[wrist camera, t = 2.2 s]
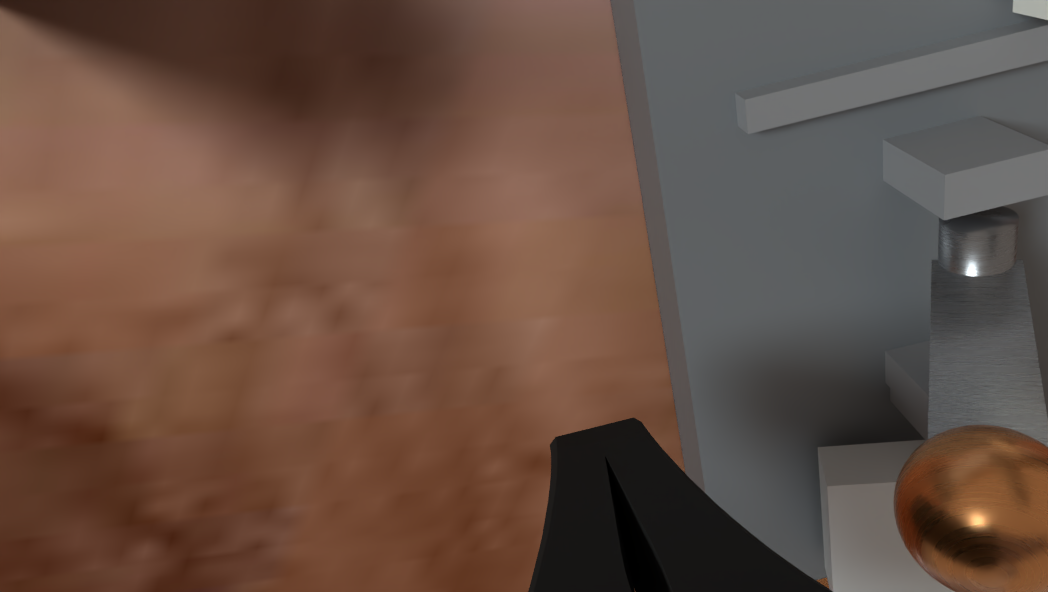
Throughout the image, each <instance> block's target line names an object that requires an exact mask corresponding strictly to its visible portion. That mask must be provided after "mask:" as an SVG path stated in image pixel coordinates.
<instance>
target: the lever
mask: <svg viewBox="0 0 1048 592" xmlns="http://www.w3.org/2000/svg"><path fill="white" fill-rule="evenodd" d="M1018 225H1019V216H1018V214H1017V213H1016V212H1015V211H1013V210H1012V209H1010V208H1007V207H1004V206H1001V207H997V208H993V209H989V210H985V211H980V212H976V213H972V214H968V215H964V216H960V217H956V218H952V219H948V220H943V219H941V218H939V235H938V260H932V269H931V316H930V363H929V410H928V440H927V441H925V442H924V443H923V444H921V445H920V446H919V447H918V448H917V449H916V450H915V451H914V452H913V453H912V454H911V455H910V457H909V458H908V459H907V461H906V462H905V463H904V465H903V467H902V469H901V471H900V473H899V476H898V478H897V482H896V485H895V491H894V500H893V503H894V516H895V520H896V525H897V528H898V531H899V534H900V536H901V538H902V540H903V542H904V545H905V547H906V548H907V550H908V551H909V553H910V554H911V555H912V557H913V558H914V560H915V561H916V562H917V563H918V564H919V565H920V567H921V568H922V569H923V570H925V571H926V572H927V573H928V574H929V575H930V576H931V577H932V578H934V579H935V580H936V581H938V582H939V583H941V584H942V585H944V586H946V587H947V588H949V589H951V590H953V591H955V592H1048V418H1047V412H1046V405H1045V399H1044V393H1043V386H1042V380H1041V373H1040V367H1039V361H1038V354H1037V348H1036V341H1035V335H1034V329H1033V322H1032V316H1031V310H1030V303H1029V297H1028V290H1027V284H1026V278H1025V271H1024V265H1023V259H1016V253H1017V239H1018Z"/></svg>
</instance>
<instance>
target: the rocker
mask: <svg viewBox="0 0 1048 592" xmlns="http://www.w3.org/2000/svg"><path fill="white" fill-rule="evenodd" d="M925 441H926V440H913V441H899V442H885V443H870V444H856V445H842V446H828V447H818V461H819V478H820V494H821V510H822V527H823V543H824V560H825V570H826V574H827V579H828V584H829V588H830V590H831V591H833V592H955V591H953V590H951V589H949V588H947V587H946V586H944V585H942V584H941V583H939V582H938V581H936V580H935V579H934V578H932V577H931V576H930V575H929V574H928V573H927V572H926V571H925V570H923V569H922V568H921V567H920V565H919V564H918V563H917V562H916V561H915V560H914V558H913V557H912V555H911V554H910V553H909V551H908V550H907V548H906V547H905V545H904V542H903V540H902V538H901V536H900V534H899V531H898V528H897V525H896V520H895V516H894V503H893V500H894V491H895V485H896V482H897V478H898V476H899V473H900V471H901V469H902V467H903V465H904V463H905V462H906V461H907V459H908V458H909V457H910V455H911V454H912V453H913V452H914V451H915V450H916V449H917V448H918V447H919V446H920V445H921V444H923V443H924V442H925Z"/></svg>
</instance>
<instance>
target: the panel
mask: <svg viewBox="0 0 1048 592" xmlns="http://www.w3.org/2000/svg"><path fill="white" fill-rule="evenodd" d="M611 6H612V13H613V19H614V25H615V32H616V38H617V44H618V50H619V57H620V63H621V69H622V76H623V82H624V88H625V94H626V101H627V107H628V113H629V120H630V126H631V132H632V138H633V145H634V151H635V157H636V164H637V170H638V176H639V182H640V189H641V195H642V201H643V208H644V214H645V220H646V226H647V233H648V239H649V245H650V252H651V258H652V264H653V270H654V277H655V283H656V289H657V296H658V302H659V308H660V314H661V321H662V327H663V333H664V340H665V346H666V352H667V358H668V365H669V371H670V377H671V384H672V390H673V396H674V402H675V409H676V415H677V421H678V428H679V434H680V440H681V446H682V453H683V459H684V465H685V472H686V475H687V476H688V477H689V478H690V479H691V480H692V481H693V482H694V483H695V484H696V485H697V486H698V487H699V488H701V489H702V490H703V491H704V492H705V493H706V494H707V495H708V496H709V497H710V498H711V499H712V500H713V501H714V502H715V503H716V504H717V505H719V506H720V507H721V508H722V509H723V510H724V511H725V512H726V513H728V514H729V515H730V516H731V517H732V518H733V519H735V520H736V521H737V522H738V523H739V524H741V525H742V526H743V527H744V528H745V529H747V530H748V531H749V532H750V533H751V534H753V535H754V536H755V537H756V538H758V539H759V540H760V541H761V542H763V543H764V544H765V545H766V546H768V547H769V548H770V549H772V550H773V551H774V552H776V553H777V554H778V555H780V556H781V557H783V558H784V559H785V560H787V561H788V562H790V563H791V564H792V565H794V566H795V567H797V568H798V569H799V570H801V571H802V572H804V573H805V574H807V575H808V576H810V577H811V578H813V579H814V580H818V579H822V578H826V577H827V574H826V570H825V560H824V543H823V527H822V510H821V494H820V478H819V461H818V447H828V446H842V445H856V444H870V443H885V442H899V441H913V440H926V441H927V440H928V410H929V363H930V316H931V269H932V260H938V235H939V218H941V219H943V220H948V219H952V218H956V217H960V216H964V215H968V214H972V213H976V212H980V211H985V210H989V209H993V208H997V207H1001V206H1004V207H1007V208H1010V209H1012V210H1013V211H1015V212H1016V213H1017V214H1018V216H1019V225H1018V239H1017V253H1016V259H1023V265H1024V271H1025V278H1026V284H1027V290H1028V297H1029V303H1030V310H1031V316H1032V322H1033V329H1034V335H1035V341H1036V348H1037V354H1038V361H1039V367H1040V373H1041V380H1042V386H1043V393H1044V399H1045V405H1046V412H1047V418H1048V20H1045V19H1040V18H1036V17H1032V16H1027V15H1023V14H1018V13H1014V12H1013V0H611Z"/></svg>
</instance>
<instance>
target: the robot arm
mask: <svg viewBox="0 0 1048 592" xmlns="http://www.w3.org/2000/svg"><path fill="white" fill-rule="evenodd" d="M550 449H551V481H550V490H549V500H548V506H547V512H546V517H545V523H544V529H543V535H542V540H541V544H540V549H539V553H538V557H537V561H536V564H535V568H534V572H533V576H532V580H531V584H530V588H529V591H528V592H635V591H636V592H833V591H831V590H830V589H828V588H827V587H825V586H824V585H822V584H820V583H819V582H817V581H816V580H814V579H813V578H811V577H810V576H808V575H807V574H805V573H804V572H802V571H801V570H799V569H798V568H797V567H795V566H794V565H792V564H791V563H790V562H788V561H787V560H785V559H784V558H783V557H781V556H780V555H778V554H777V553H776V552H774V551H773V550H772V549H770V548H769V547H768V546H766V545H765V544H764V543H763V542H761V541H760V540H759V539H758V538H756V537H755V536H754V535H753V534H751V533H750V532H749V531H748V530H747V529H745V528H744V527H743V526H742V525H741V524H739V523H738V522H737V521H736V520H735V519H733V518H732V517H731V516H730V515H729V514H728V513H726V512H725V511H724V510H723V509H722V508H721V507H720V506H719V505H717V504H716V503H715V502H714V501H713V500H712V499H711V498H710V497H709V496H708V495H707V494H706V493H705V492H704V491H703V490H702V489H701V488H699V487H698V486H697V485H696V484H695V483H694V482H693V481H692V480H691V479H690V478H689V477H688V476H687V475H686V474H685V473H684V472H683V471H682V470H681V469H680V468H679V467H678V466H677V464H676V463H675V462H674V461H673V460H672V459H671V458H670V457H669V456H668V455H667V454H666V452H665V451H664V450H663V449H662V448H661V447H660V446H659V444H658V443H657V442H656V441H655V440H654V438H653V437H652V436H651V434H650V433H649V432H648V431H647V429H646V428H645V426H644V425H643V424H642V422H640V421H639V420H637V419H635V418H630V419H626V420H622V421H618V422H614V423H610V424H606V425H602V426H598V427H594V428H590V429H586V430H582V431H578V432H574V433H570V434H566V435H562V436H558V437H555V439H554V440H553V442H552V443H551V444H550ZM634 589H635V591H634Z"/></svg>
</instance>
